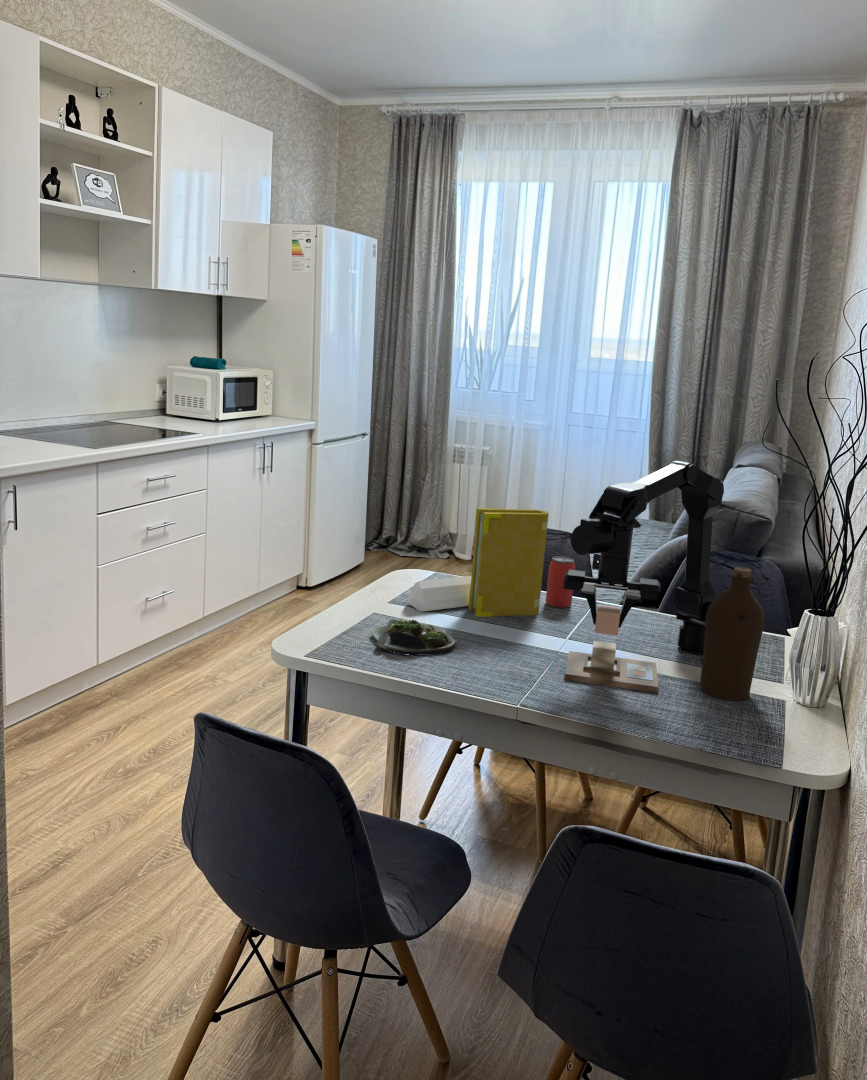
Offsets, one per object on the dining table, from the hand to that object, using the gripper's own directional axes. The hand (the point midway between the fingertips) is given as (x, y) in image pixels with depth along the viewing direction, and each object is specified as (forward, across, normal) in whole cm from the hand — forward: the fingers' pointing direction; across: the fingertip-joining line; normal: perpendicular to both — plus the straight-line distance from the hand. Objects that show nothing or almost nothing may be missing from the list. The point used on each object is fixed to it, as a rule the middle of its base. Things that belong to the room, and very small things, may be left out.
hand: (606, 625), depth 179 cm
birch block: (+9, 0, 0) cm, 9 cm away
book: (+10, +24, -33) cm, 42 cm away
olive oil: (+10, -24, +1) cm, 26 cm away
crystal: (+10, +38, -33) cm, 51 cm away
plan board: (+10, -2, 0) cm, 10 cm away
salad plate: (+10, +40, -2) cm, 41 cm away
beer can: (+10, +12, -45) cm, 48 cm away
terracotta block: (+1, 0, 0) cm, 1 cm away
